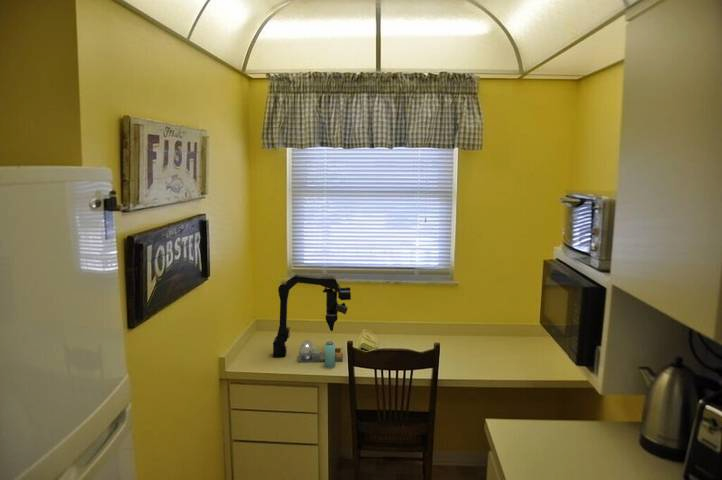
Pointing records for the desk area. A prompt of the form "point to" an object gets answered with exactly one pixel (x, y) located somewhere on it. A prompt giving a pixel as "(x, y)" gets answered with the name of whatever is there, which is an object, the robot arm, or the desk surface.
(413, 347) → the desk surface
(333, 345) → the teal cylinder grey dome
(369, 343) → the plastic component
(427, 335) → the desk surface
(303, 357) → the motor assembly
